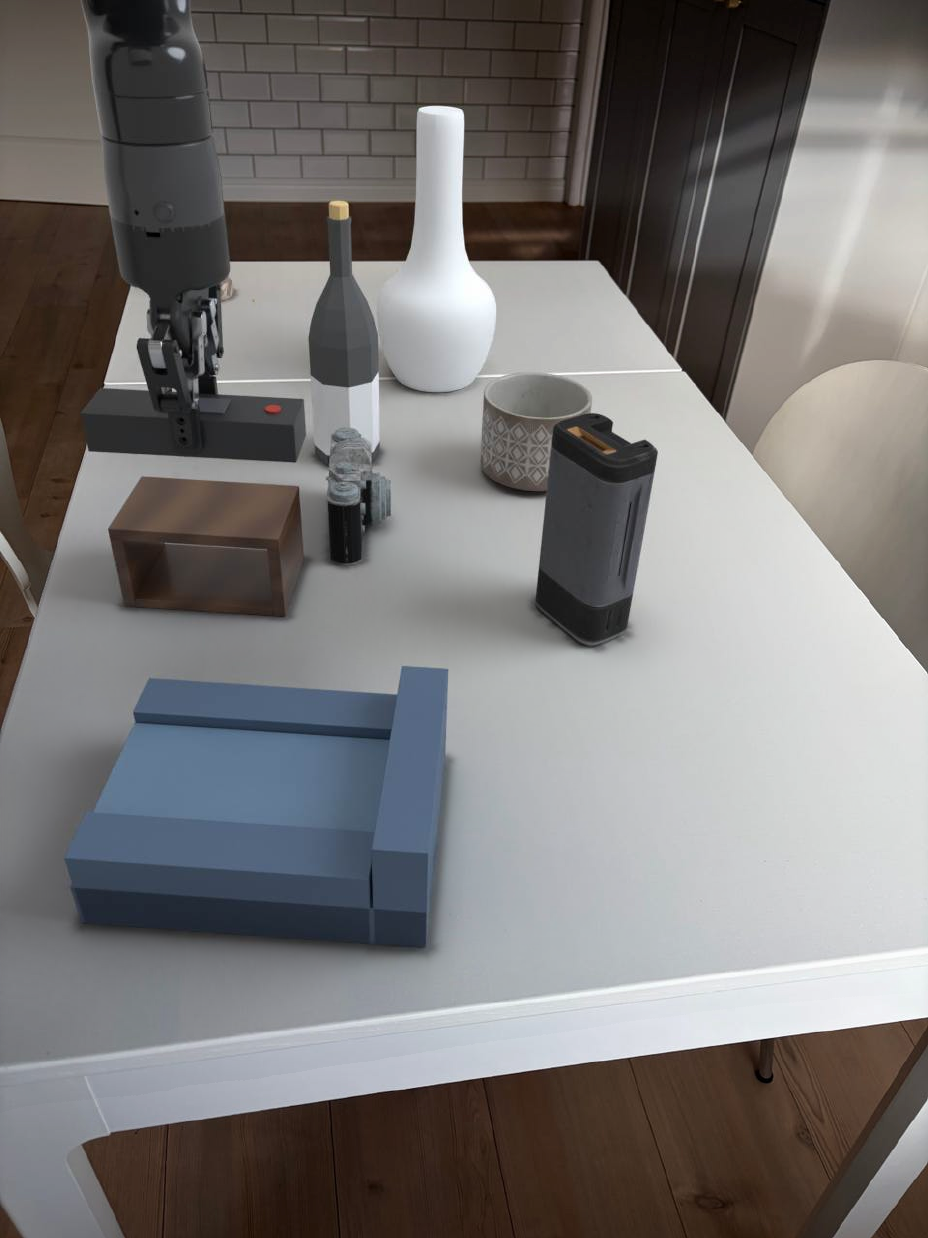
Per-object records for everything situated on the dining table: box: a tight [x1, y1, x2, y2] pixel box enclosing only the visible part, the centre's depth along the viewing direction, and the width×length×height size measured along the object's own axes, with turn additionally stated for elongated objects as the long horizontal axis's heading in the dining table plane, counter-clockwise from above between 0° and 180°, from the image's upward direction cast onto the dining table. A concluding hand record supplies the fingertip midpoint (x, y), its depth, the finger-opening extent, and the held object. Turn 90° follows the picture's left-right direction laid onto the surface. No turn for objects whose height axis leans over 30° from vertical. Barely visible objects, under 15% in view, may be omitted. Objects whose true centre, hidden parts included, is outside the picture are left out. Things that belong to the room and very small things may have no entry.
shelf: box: [107, 475, 305, 617], centre depth 98 cm, size 16×10×9 cm, turn 87°
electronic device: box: [534, 412, 659, 647], centre depth 93 cm, size 9×6×20 cm, turn 34°
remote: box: [80, 387, 307, 464], centre depth 77 cm, size 16×5×3 cm, turn 88°
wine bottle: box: [307, 200, 381, 467], centre depth 115 cm, size 8×8×30 cm
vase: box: [376, 105, 497, 393], centre depth 133 cm, size 17×17×35 cm
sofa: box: [63, 665, 449, 948], centre depth 72 cm, size 24×18×10 cm
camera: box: [325, 428, 392, 566], centre depth 107 cm, size 15×7×10 cm, turn 4°
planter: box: [479, 371, 593, 492], centre depth 119 cm, size 13×13×10 cm
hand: (198, 435), depth 77 cm, fingers closed on remote, 4 cm apart
